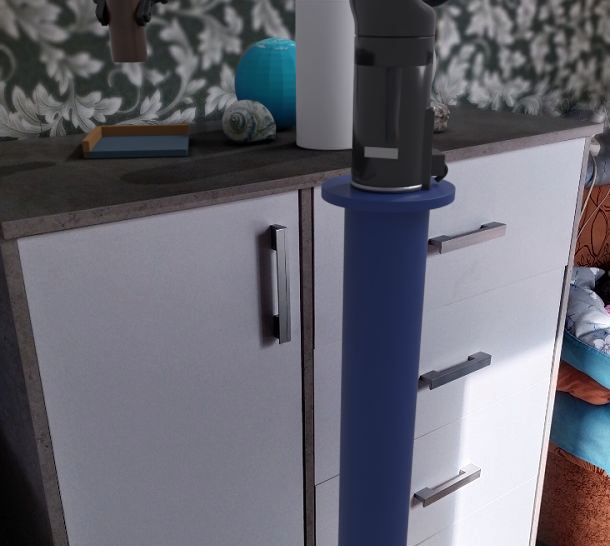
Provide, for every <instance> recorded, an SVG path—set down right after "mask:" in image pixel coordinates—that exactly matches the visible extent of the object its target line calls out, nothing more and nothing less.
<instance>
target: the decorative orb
mask: <svg viewBox="0 0 610 546" xmlns="http://www.w3.org/2000/svg"><path fill="white" fill-rule="evenodd" d="M233 85H234V94H235V97H236V100H237V101H241V100H252V101H256V102H259V103H260V104H262V105H263V106H264V107H266V108H267V110H268V111H269V112H270V114H271V115H272V117H273V119H274V122H275V124H276V130H285V129H289V128H292V127H296V41H294V40H292V39H288V38H285V37H269V38H266V39H265V38H264V39H261V40H260V41H257V42H255V43H254V44H253V45H252V46H250V47H249V48H248V49H247V50H246V52H244V54H243V55H242V56H241V58H240V60H239V62H238V64H237V67H236V69H235V73H234V84H233Z"/></svg>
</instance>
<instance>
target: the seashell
mask: <svg viewBox="0 0 610 546" xmlns="http://www.w3.org/2000/svg"><path fill="white" fill-rule="evenodd" d="M221 128H222V131H223V134H224V136H225V137H226V139H227V140H229V141H230V142H232V143H234V144H238V145H243V144H248V143H253V142H259V141H264V140H272V141H276V137H277V135H276V130H277V129H276V124H275V122H274V119H273V117H272V115H271V114H270V112H269V111H268V110H267V108H266V107H264V106H263V105H262V104H260V103H259V102H256V101H252V100H241V101H238V100H237V101H235V102H233V103H230V105H229V106H228V107H227V108H226V109H225V111H224V113H223V115H222V118H221Z"/></svg>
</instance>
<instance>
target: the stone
mask: <svg viewBox="0 0 610 546" xmlns="http://www.w3.org/2000/svg"><path fill="white" fill-rule="evenodd" d="M431 107H433V108H434V109H435V121H434V133H438V132H442V131H444V130H446V129H447V126H448V122H449V121H448V120H449V119H450V115H451V114H450V110H449V108H448V106H447V105H446V104H445V103H442V102H438V101H431Z"/></svg>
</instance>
